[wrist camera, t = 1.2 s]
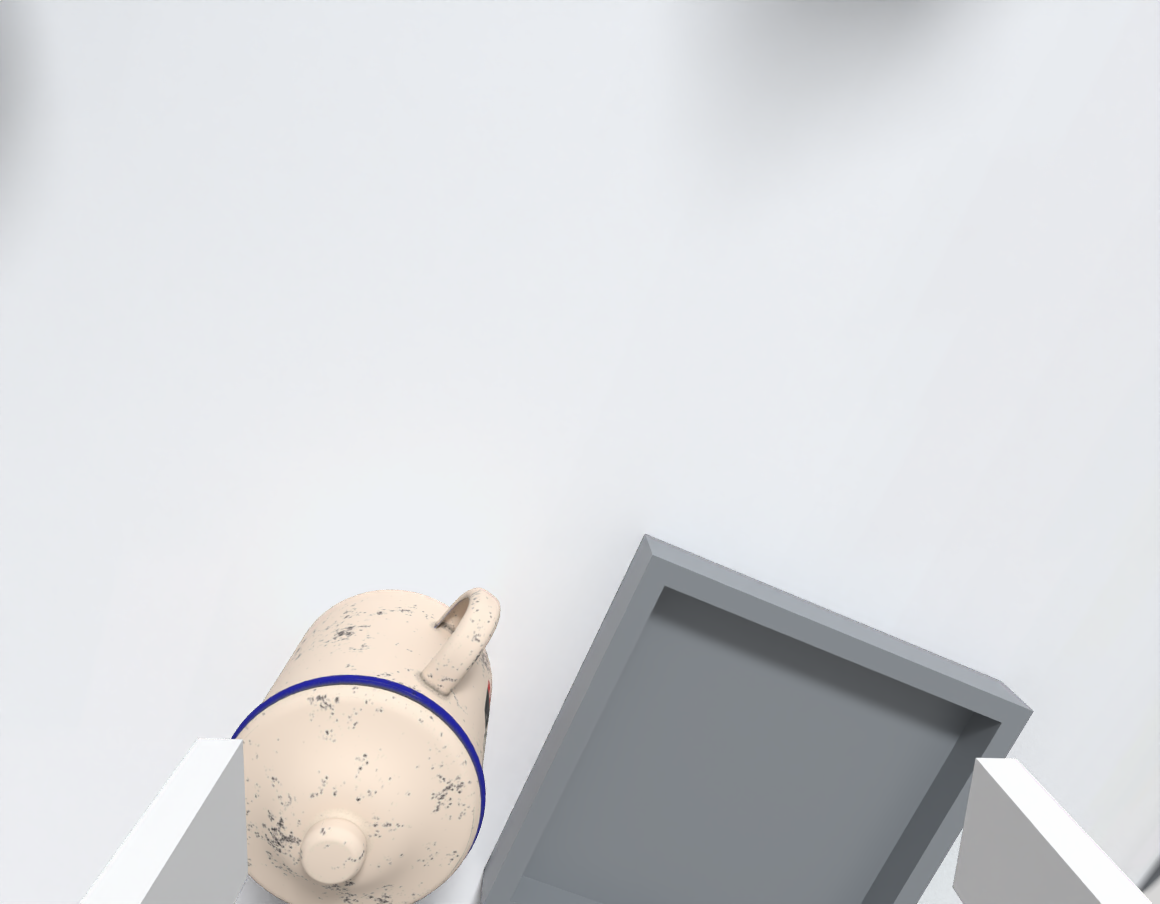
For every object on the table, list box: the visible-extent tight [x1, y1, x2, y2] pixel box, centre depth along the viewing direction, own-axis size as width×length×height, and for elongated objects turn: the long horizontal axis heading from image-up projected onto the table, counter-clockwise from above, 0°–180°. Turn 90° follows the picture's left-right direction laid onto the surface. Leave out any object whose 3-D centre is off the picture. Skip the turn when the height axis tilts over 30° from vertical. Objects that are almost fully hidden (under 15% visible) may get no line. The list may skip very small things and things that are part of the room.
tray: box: [481, 534, 1034, 904], centre depth 38 cm, size 18×18×3 cm
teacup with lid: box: [231, 588, 500, 904], centre depth 31 cm, size 12×9×12 cm
